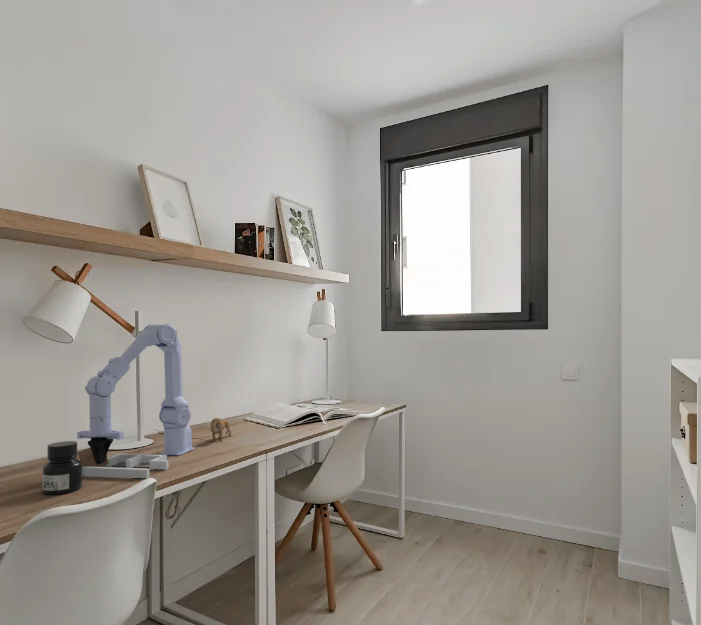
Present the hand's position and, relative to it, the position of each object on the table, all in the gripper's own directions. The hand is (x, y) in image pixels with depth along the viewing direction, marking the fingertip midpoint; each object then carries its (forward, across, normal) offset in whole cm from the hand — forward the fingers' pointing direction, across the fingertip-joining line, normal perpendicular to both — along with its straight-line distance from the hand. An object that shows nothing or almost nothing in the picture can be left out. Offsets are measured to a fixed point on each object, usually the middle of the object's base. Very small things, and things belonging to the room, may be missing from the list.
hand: (100, 463), depth 147 cm
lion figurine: (+3, +15, +46) cm, 48 cm away
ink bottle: (+3, +2, -17) cm, 17 cm away
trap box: (+2, +5, +3) cm, 6 cm away
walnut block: (+2, -3, +1) cm, 3 cm away
